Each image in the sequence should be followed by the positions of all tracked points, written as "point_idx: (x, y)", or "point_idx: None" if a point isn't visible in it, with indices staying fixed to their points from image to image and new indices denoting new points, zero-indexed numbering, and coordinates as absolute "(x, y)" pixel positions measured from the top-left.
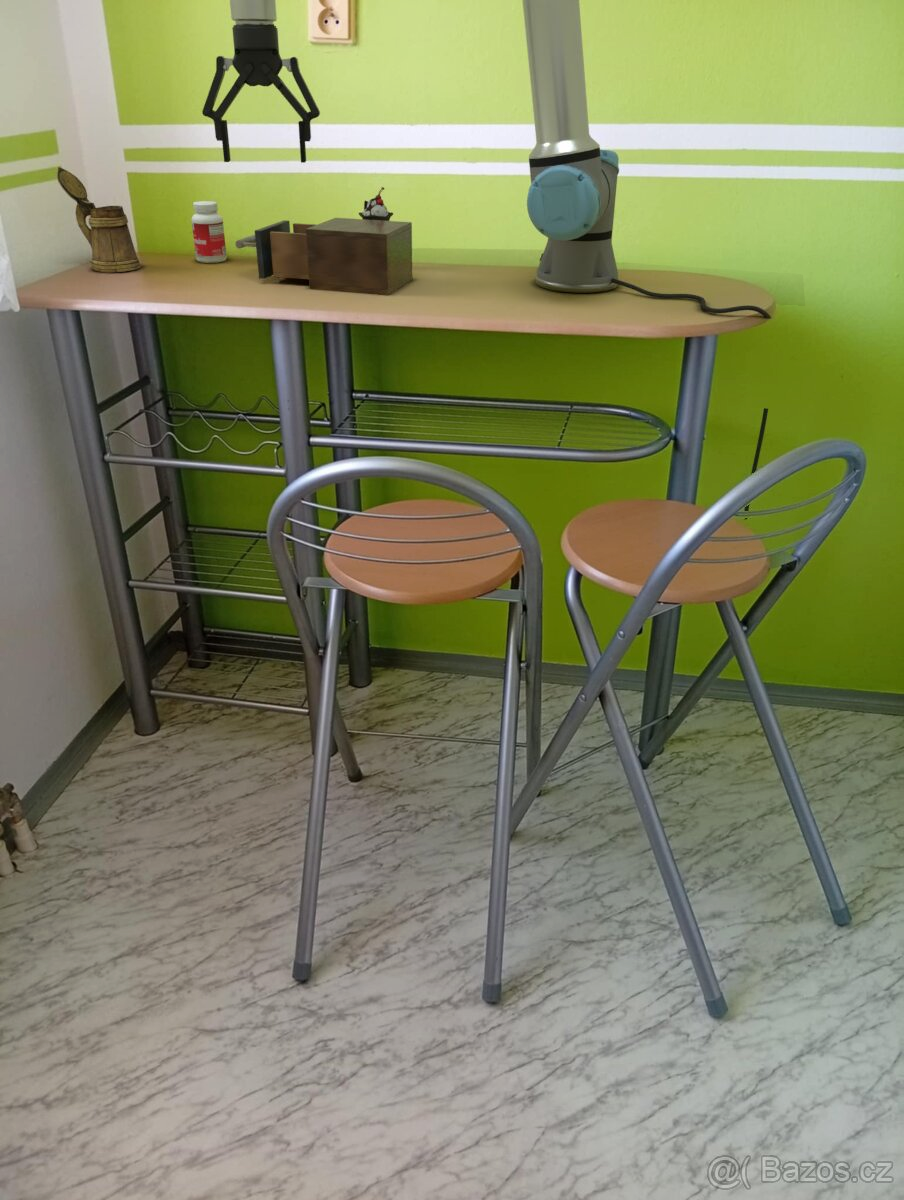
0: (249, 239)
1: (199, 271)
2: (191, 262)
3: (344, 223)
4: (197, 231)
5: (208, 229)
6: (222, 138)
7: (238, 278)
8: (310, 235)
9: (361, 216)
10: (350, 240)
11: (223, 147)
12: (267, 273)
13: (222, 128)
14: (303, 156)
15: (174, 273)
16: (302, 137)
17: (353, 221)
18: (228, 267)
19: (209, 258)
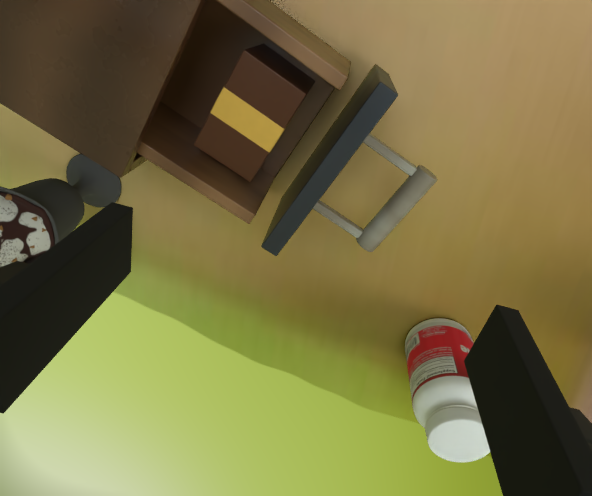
0: (388, 206)
1: (493, 253)
2: None
3: (84, 47)
4: None
5: (457, 366)
6: (560, 396)
7: (424, 154)
8: None
9: (51, 215)
10: None
11: (540, 356)
12: (363, 82)
13: (580, 448)
14: (102, 214)
15: (556, 249)
16: (39, 264)
17: (57, 84)
18: (418, 273)
19: (450, 323)
